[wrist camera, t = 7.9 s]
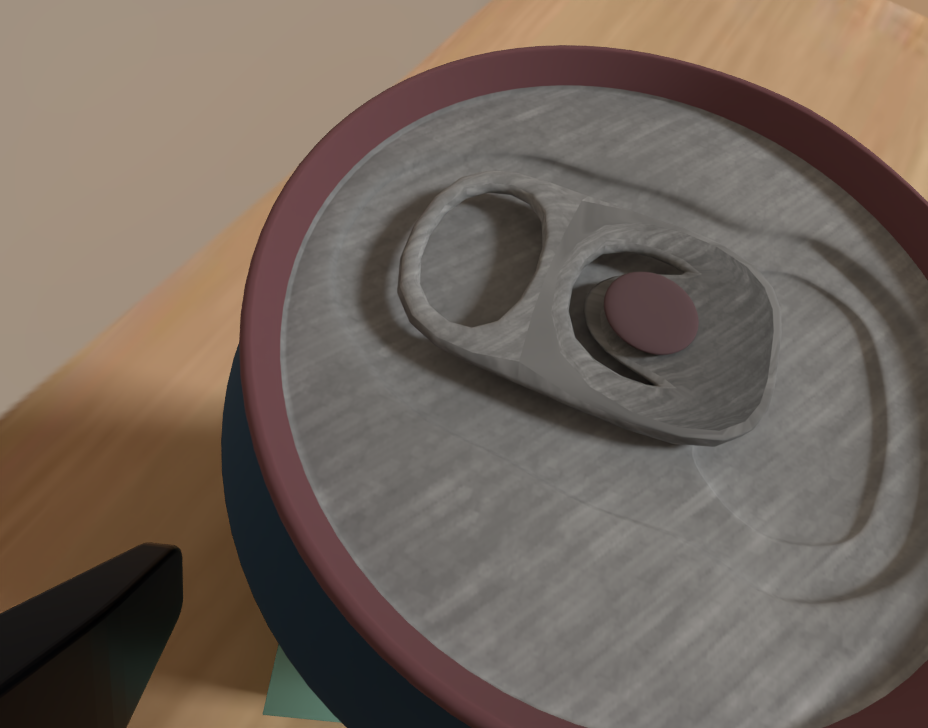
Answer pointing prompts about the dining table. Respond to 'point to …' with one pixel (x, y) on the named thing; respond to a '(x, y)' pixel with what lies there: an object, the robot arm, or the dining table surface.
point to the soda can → (588, 407)
